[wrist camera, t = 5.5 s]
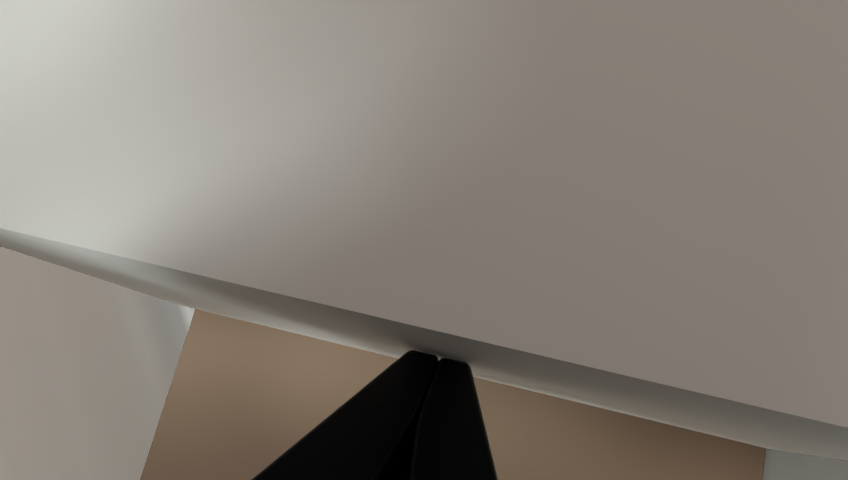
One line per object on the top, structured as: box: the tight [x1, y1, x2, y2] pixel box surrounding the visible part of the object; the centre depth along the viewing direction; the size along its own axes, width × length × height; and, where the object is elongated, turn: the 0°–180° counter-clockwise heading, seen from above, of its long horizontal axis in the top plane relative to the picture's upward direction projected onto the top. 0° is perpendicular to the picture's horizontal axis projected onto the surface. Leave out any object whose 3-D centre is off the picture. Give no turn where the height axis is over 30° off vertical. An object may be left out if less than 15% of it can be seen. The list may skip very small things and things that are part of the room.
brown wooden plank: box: [140, 309, 766, 480], centre depth 16 cm, size 18×14×1 cm
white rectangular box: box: [0, 0, 848, 461], centre depth 11 cm, size 7×14×10 cm, turn 76°
